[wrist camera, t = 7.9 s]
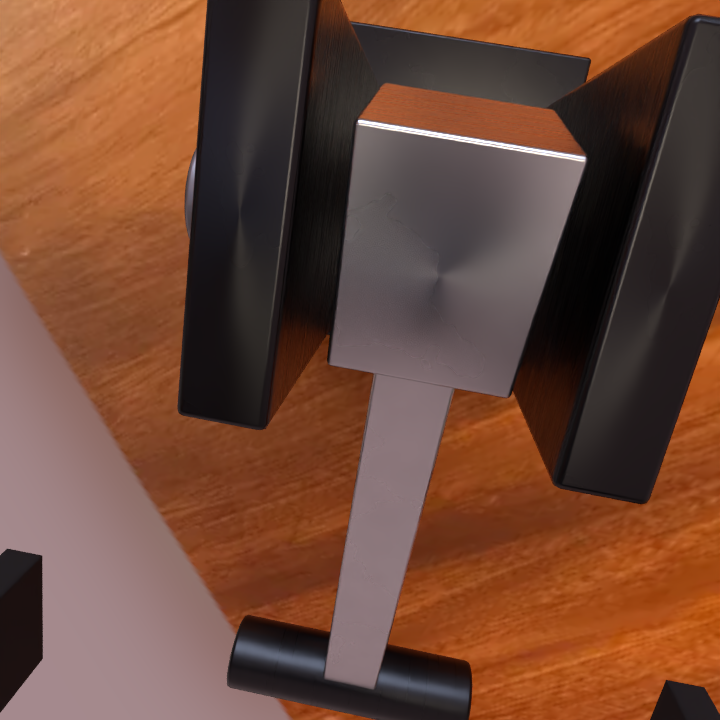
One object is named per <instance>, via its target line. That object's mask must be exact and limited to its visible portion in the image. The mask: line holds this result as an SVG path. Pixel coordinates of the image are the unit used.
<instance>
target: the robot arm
mask: <svg viewBox="0 0 720 720" xmlns="http://www.w3.org/2000/svg"><path fill="white" fill-rule="evenodd" d="M42 622H43V621H42V556H41V555H36V554H31V553H26V552H21V551H16V550H11V549H7V550H5V551H4V552H3V553H2V554H1V555H0V712H1V711H2V710H3V709H4V707H5V706H6V705H7V703H8V702H9V701H10V700H11V698H12V697H13V696H14V695H15V693H16V692H17V690H18V689H19V688H20V687H21V686H22V684H23V683H24V682H25V680H26V679H27V678H28V677H29V675H30V674H31V673H32V672H33V670H34V669H35V668H36V666H37V665H38V664H39V663H40V661H41V660H42V659H43V645H42V644H43V633H42V632H43V631H42V630H43V626H42V625H43V624H42ZM650 720H720V714H719V713H718V711H717V709H716V707H715V705H714V704H713V702H712V700H711V698H710V697H709V695H708V693H707V691H706V690H705V688H704V687H699V686H694V685H689V684H684V683H679V682H674V681H669V680H666V682H665V684H664V687H663V689H662V692H661V694H660V697H659V699H658V702H657V704H656V707H655V709H654V712H653V714H652V716H651V719H650Z"/></svg>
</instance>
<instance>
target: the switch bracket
mask: <svg viewBox="0 0 720 720" xmlns="http://www.w3.org/2000/svg"><path fill="white" fill-rule="evenodd" d="M590 64H591V59H589V58H586V57H579V56H573V55H566V54H560V53H553V52H547V51H540V50H534V49H527V48H521V47H514V46H508V45H502V44H495V43H489V42H482V41H476V40H469V39H463V38H456V37H450V36H443V35H437V34H431V33H424V32H418V31H411V30H405V29H398V28H392V27H385V26H379V25H372V24H366V23H359V22H353V21H350V20H349V18H348V16H347V14H346V11H345V9H344V7H343V5H342V3H341V0H207V12H206V25H205V39H204V53H203V66H202V80H201V94H200V107H199V121H198V135H197V148H196V150H195V152H194V154H193V157H192V160H191V163H190V167H189V171H188V176H187V182H186V189H185V220H186V227H187V232H188V235H189V238H190V244H189V257H188V271H187V285H186V298H185V312H184V326H183V339H182V353H181V367H180V380H179V394H178V412H179V413H180V414H181V415H183V416H188V417H194V418H199V419H204V420H209V421H214V422H219V423H224V424H230V425H235V426H240V427H245V428H250V429H255V430H262V429H266V427H267V426H268V424H269V423H270V421H271V420H272V418H273V416H274V415H275V413H276V412H277V410H278V409H279V407H280V406H281V404H282V403H283V401H284V400H285V398H286V397H287V395H288V393H289V392H290V390H291V389H292V387H293V386H294V384H295V383H296V381H297V380H298V378H299V377H300V375H301V373H302V372H303V370H304V369H305V367H306V366H307V364H308V363H309V361H310V360H311V358H312V357H313V355H314V354H315V352H316V350H317V349H318V347H319V346H320V344H321V343H322V341H323V340H324V338H325V337H326V335H330V329H331V320H332V311H333V303H334V294H335V285H336V276H337V267H338V258H339V249H340V240H341V232H342V223H343V214H344V205H345V196H346V187H347V178H348V169H349V161H350V152H351V143H352V134H353V125H354V122H355V120H356V118H357V117H358V116H359V114H360V113H361V112H362V111H363V109H364V108H365V107H366V105H367V104H368V103H369V102H370V100H371V99H372V98H373V96H374V95H375V94H376V93H377V91H378V90H379V89H380V87H381V86H382V85H383V84H385V83H389V84H395V85H401V86H408V87H414V88H420V89H426V90H433V91H439V92H445V93H451V94H458V95H464V96H470V97H476V98H483V99H489V100H495V101H501V102H508V103H514V104H520V105H526V106H533V107H539V108H545V109H551V110H554V111H555V112H556V113H557V114H558V116H559V117H560V119H561V120H562V121H563V123H564V124H565V126H566V127H567V128H568V130H569V131H570V132H571V134H572V135H573V137H574V138H575V139H576V141H577V142H578V143H579V145H580V146H581V148H582V149H583V150H584V152H585V153H586V154H587V156H588V157H589V163H588V166H587V169H586V172H585V175H584V178H583V181H582V184H581V187H580V190H579V193H578V196H577V199H576V202H575V205H574V208H573V211H572V214H571V217H570V220H569V223H568V226H567V229H566V232H565V235H564V238H563V241H562V244H561V247H560V250H559V253H558V256H557V259H556V262H555V265H554V268H553V271H552V274H551V277H550V280H549V283H548V286H547V289H546V292H545V295H544V298H543V301H542V304H541V307H540V310H539V313H538V316H537V319H536V322H535V325H534V328H533V331H532V334H531V337H530V340H529V343H528V346H527V349H526V352H525V355H524V358H523V361H522V364H521V367H520V370H519V373H518V376H517V379H516V382H515V385H514V388H513V392H514V395H515V397H516V399H517V402H518V404H519V406H520V409H521V411H522V413H523V416H524V418H525V420H526V423H527V425H528V427H529V430H530V432H531V434H532V437H533V439H534V441H535V443H536V446H537V448H538V450H539V453H540V455H541V457H542V460H543V462H544V464H545V467H546V469H547V471H548V474H549V476H550V478H551V481H552V483H553V484H554V485H555V486H557V487H558V488H561V489H565V490H570V491H576V492H581V493H586V494H591V495H596V496H601V497H607V498H612V499H617V500H622V501H627V502H632V503H638V504H645V503H647V502H648V500H649V499H650V496H651V493H652V490H653V488H654V485H655V482H656V479H657V476H658V473H659V470H660V467H661V465H662V462H663V459H664V456H665V453H666V450H667V447H668V445H669V442H670V439H671V436H672V433H673V430H674V427H675V424H676V422H677V419H678V416H679V413H680V410H681V407H682V404H683V402H684V399H685V396H686V393H687V390H688V387H689V384H690V381H691V379H692V376H693V373H694V370H695V367H696V364H697V361H698V359H699V356H700V353H701V350H702V347H703V344H704V341H705V338H706V336H707V333H708V330H709V327H710V324H711V321H712V318H713V316H714V313H715V310H716V307H717V304H718V301H719V298H720V17H716V16H709V15H702V14H697V15H693V16H689V17H688V18H686V19H684V20H683V21H681V22H680V23H678V24H677V25H675V26H673V27H672V28H670V29H669V30H667V31H666V32H664V33H662V34H661V35H659V36H658V37H656V38H655V39H653V40H651V41H650V42H648V43H647V44H645V45H644V46H642V47H641V48H639V49H637V50H636V51H634V52H633V53H631V54H630V55H628V56H626V57H625V58H623V59H622V60H620V61H619V62H617V63H615V64H614V65H612V66H611V67H609V68H608V69H606V70H604V71H603V72H601V73H600V74H598V75H597V76H595V77H593V78H592V79H590V80H589V81H587V82H586V80H587V76H588V72H589V68H590Z"/></svg>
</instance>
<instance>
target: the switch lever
mask: <svg viewBox="0 0 720 720" xmlns="http://www.w3.org/2000/svg"><path fill="white" fill-rule="evenodd" d="M588 163H589V157H588V156H587V154H586V153H585V152H584V150H583V149H582V148H581V146H580V145H579V143H578V142H577V141H576V139H575V138H574V137H573V135H572V134H571V132H570V131H569V130H568V128H567V127H566V126H565V124H564V123H563V121H562V120H561V119H560V117H559V116H558V114H557V113H556V112H555V111H554V110H551V109H545V108H539V107H533V106H526V105H520V104H514V103H508V102H501V101H495V100H489V99H483V98H476V97H470V96H464V95H458V94H451V93H445V92H439V91H433V90H426V89H420V88H414V87H408V86H401V85H395V84H389V83H385V84H383V85H382V86H381V87H380V89H379V90H378V91H377V93H376V94H375V95H374V96H373V98H372V99H371V100H370V102H369V103H368V104H367V105H366V107H365V108H364V109H363V111H362V112H361V113H360V114H359V116H358V117H357V118H356V120H355V122H354V125H353V134H352V143H351V152H350V161H349V169H348V178H347V187H346V196H345V205H344V214H343V223H342V232H341V240H340V249H339V258H338V267H337V276H336V285H335V294H334V303H333V311H332V320H331V329H330V338H329V347H328V356H327V362H328V364H329V365H331V366H337V367H342V368H347V369H353V370H358V371H363V372H369V373H374V374H373V380H372V386H371V392H370V398H369V404H368V410H367V416H366V422H365V428H364V434H363V440H362V446H361V451H360V457H359V463H358V469H357V475H356V481H355V487H354V493H353V499H352V505H351V511H350V517H349V523H348V529H347V535H346V541H345V547H344V553H343V559H342V565H341V571H340V577H339V583H338V589H337V595H336V601H335V607H334V613H333V618H332V624H331V630H330V632H327V631H322V630H318V629H313V628H308V627H304V626H299V625H294V624H289V623H285V622H280V621H275V620H270V619H266V618H261V617H256V616H251V615H247V616H245V617H244V619H243V620H242V622H241V624H240V626H239V629H238V632H237V634H236V638H235V641H234V645H233V648H232V652H231V656H230V661H229V666H228V672H227V685H228V686H229V687H230V688H234V689H239V690H243V691H248V692H253V693H257V694H262V695H266V696H271V697H275V698H280V699H284V700H289V701H294V702H298V703H303V704H307V705H312V706H316V707H321V708H326V709H330V710H335V711H339V712H344V713H349V714H353V715H358V716H362V717H367V718H371V719H376V720H469V715H470V709H471V700H472V673H471V668H470V664H469V663H468V662H467V661H465V660H460V659H455V658H450V657H446V656H441V655H436V654H431V653H427V652H422V651H417V650H413V649H408V648H403V647H398V646H394V645H389V644H388V640H389V636H390V632H391V629H392V625H393V621H394V617H395V614H396V610H397V606H398V602H399V598H400V595H401V591H402V587H403V583H404V580H405V576H406V572H407V568H408V565H409V561H410V557H411V553H412V550H413V546H414V542H415V538H416V535H417V531H418V527H419V523H420V519H421V516H422V512H423V508H424V504H425V501H426V497H427V493H428V489H429V486H430V482H431V478H432V474H433V471H434V467H435V463H436V459H437V456H438V452H439V448H440V444H441V441H442V437H443V433H444V429H445V425H446V422H447V418H448V414H449V410H450V407H451V403H452V399H453V395H454V392H455V389H460V390H465V391H470V392H476V393H481V394H487V395H492V396H497V397H503V398H509V397H510V396H511V394H512V391H513V388H514V385H515V382H516V379H517V376H518V373H519V370H520V367H521V364H522V361H523V358H524V355H525V352H526V349H527V346H528V343H529V340H530V337H531V334H532V331H533V328H534V325H535V322H536V319H537V316H538V313H539V310H540V307H541V304H542V301H543V298H544V295H545V292H546V289H547V286H548V283H549V280H550V277H551V274H552V271H553V268H554V265H555V262H556V259H557V256H558V253H559V250H560V247H561V244H562V241H563V238H564V235H565V232H566V229H567V226H568V223H569V220H570V217H571V214H572V211H573V208H574V205H575V202H576V199H577V196H578V193H579V190H580V187H581V184H582V181H583V178H584V175H585V172H586V169H587V166H588Z"/></svg>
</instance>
